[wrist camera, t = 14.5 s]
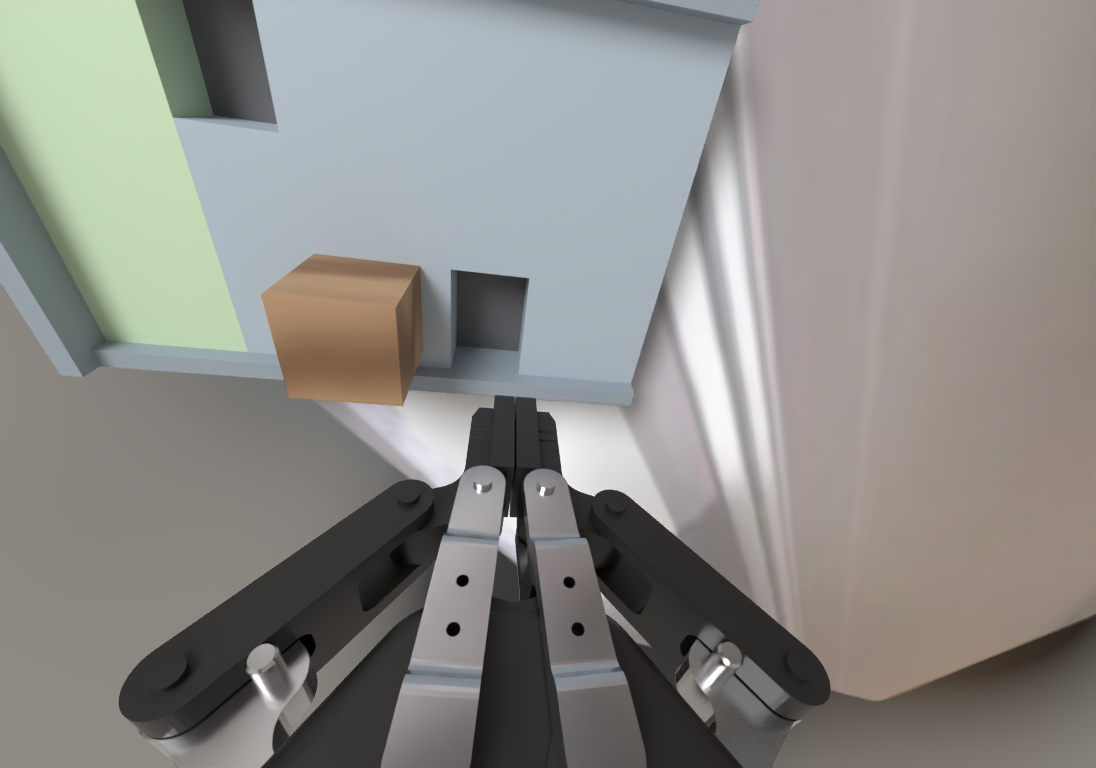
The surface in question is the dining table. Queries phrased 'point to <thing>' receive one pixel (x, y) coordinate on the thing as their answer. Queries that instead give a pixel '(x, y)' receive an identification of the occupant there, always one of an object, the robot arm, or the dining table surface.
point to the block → (347, 329)
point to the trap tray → (354, 174)
